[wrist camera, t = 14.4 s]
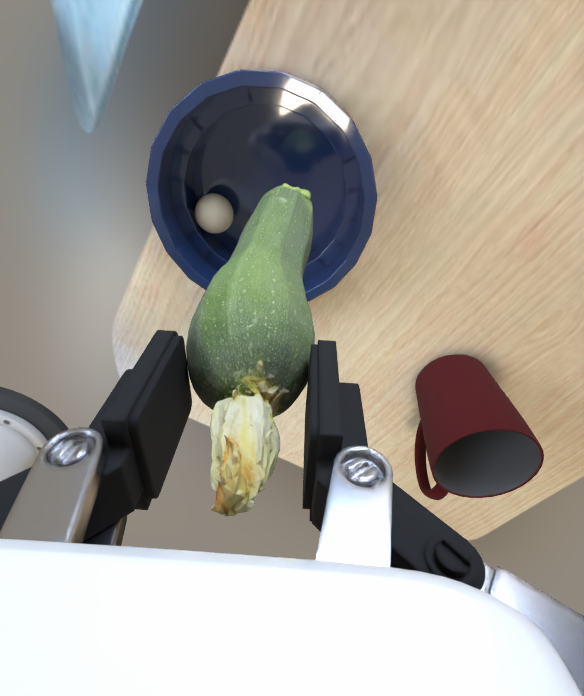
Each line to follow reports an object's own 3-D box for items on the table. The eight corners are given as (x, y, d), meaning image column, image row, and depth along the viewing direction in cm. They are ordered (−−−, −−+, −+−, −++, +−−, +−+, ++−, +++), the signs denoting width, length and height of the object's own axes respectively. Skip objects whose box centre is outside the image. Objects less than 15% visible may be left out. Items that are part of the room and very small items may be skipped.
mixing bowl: (185, 271, 37) (164, 302, 32) (160, 65, 28) (126, 63, 23) (353, 282, 36) (358, 315, 31) (382, 77, 27) (396, 77, 22)
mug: (438, 438, 47) (466, 525, 38) (375, 411, 45) (389, 495, 36) (513, 369, 41) (568, 453, 32) (444, 334, 39) (482, 413, 30)
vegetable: (294, 247, 26) (264, 590, 10) (232, 218, 25) (97, 553, 9) (328, 185, 23) (354, 522, 8) (260, 148, 22) (136, 459, 7)
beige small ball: (233, 237, 31) (245, 204, 31) (201, 217, 29) (214, 181, 29) (213, 242, 33) (225, 210, 34) (182, 223, 31) (195, 190, 32)
